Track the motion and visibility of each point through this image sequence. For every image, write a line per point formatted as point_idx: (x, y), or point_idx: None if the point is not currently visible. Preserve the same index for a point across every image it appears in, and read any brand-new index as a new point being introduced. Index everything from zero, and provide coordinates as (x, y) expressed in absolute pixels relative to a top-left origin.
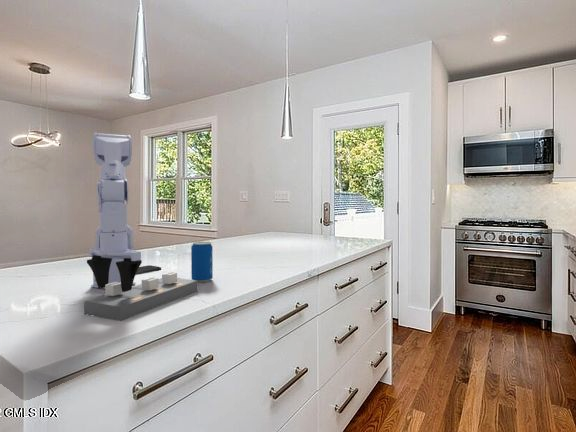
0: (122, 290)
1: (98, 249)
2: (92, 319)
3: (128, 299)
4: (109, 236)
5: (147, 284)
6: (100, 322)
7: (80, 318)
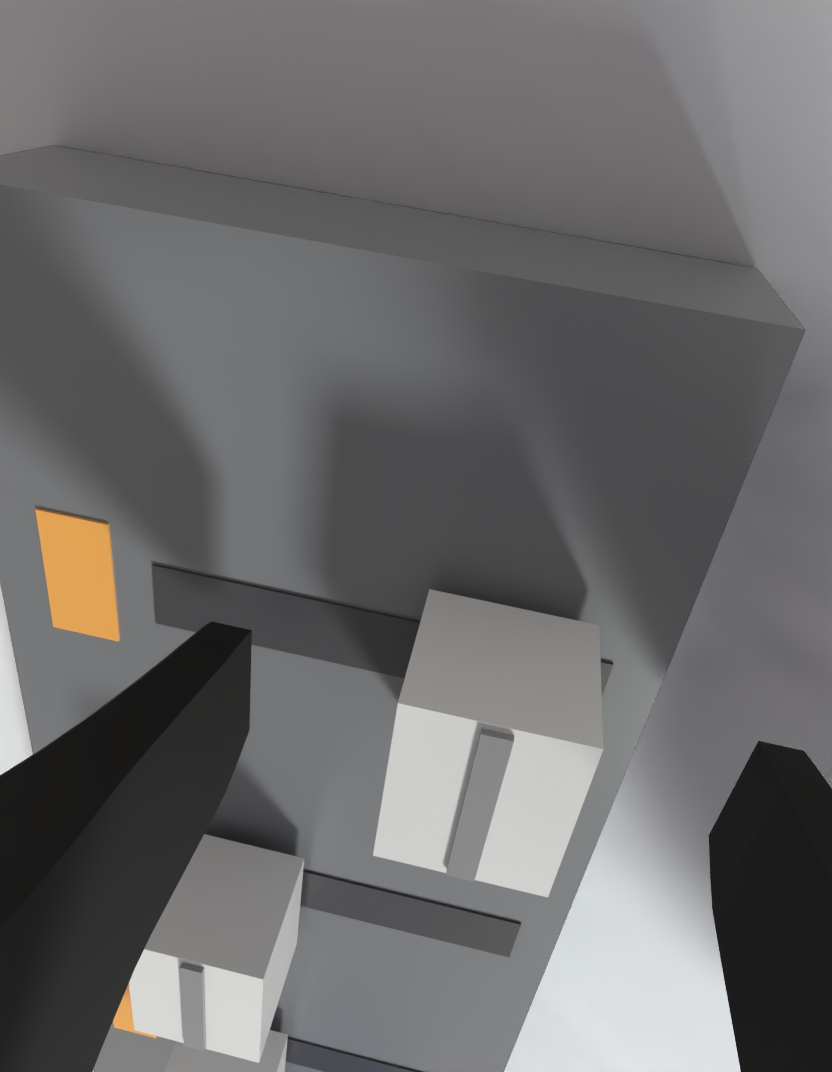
0: (234, 636)
1: None
2: (468, 96)
3: (156, 529)
4: None
5: (184, 903)
6: (256, 11)
7: (686, 83)
